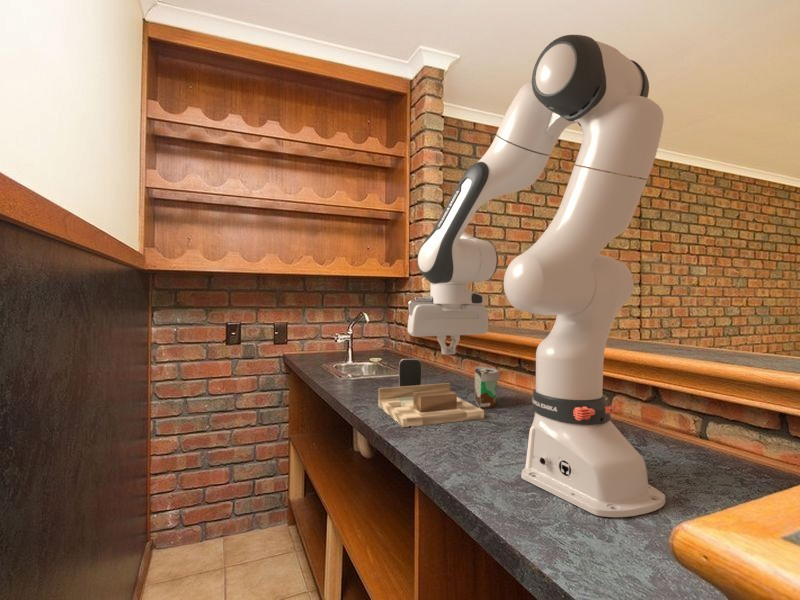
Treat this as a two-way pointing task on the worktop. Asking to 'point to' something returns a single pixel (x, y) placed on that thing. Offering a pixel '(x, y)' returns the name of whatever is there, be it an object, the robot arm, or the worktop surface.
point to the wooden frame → (402, 411)
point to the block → (434, 400)
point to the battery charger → (409, 372)
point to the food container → (485, 386)
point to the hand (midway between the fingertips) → (448, 354)
